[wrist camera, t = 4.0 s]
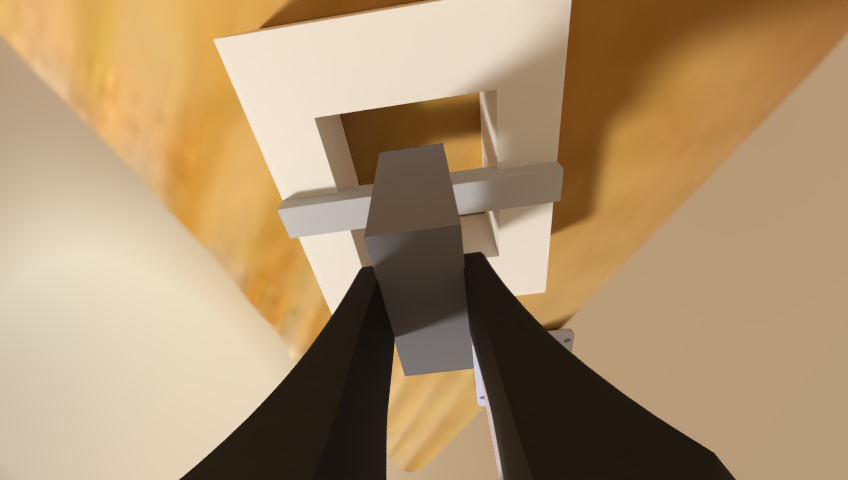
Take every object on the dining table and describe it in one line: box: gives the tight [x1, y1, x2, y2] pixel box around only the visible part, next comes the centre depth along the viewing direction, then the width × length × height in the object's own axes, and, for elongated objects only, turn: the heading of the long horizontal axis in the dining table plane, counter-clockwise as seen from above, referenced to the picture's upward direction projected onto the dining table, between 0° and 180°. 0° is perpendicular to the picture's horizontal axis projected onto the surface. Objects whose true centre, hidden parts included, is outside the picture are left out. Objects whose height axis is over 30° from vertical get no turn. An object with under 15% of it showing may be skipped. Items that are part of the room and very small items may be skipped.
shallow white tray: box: [213, 0, 572, 315], centre depth 17 cm, size 14×12×5 cm
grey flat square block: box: [364, 143, 474, 376], centre depth 12 cm, size 6×2×6 cm, turn 8°
